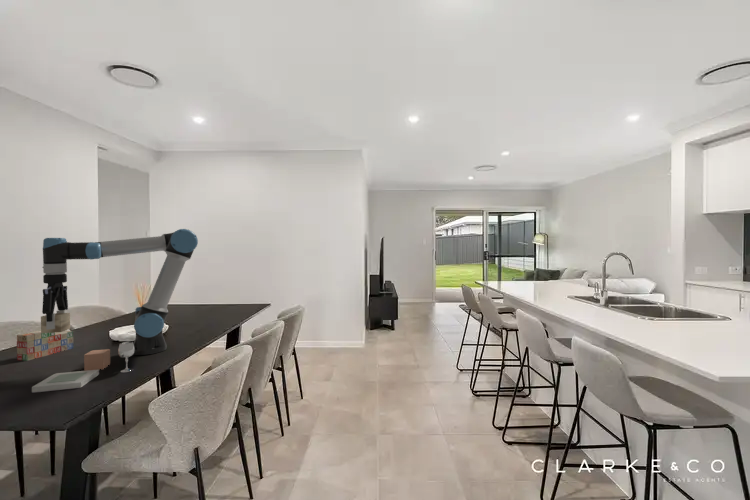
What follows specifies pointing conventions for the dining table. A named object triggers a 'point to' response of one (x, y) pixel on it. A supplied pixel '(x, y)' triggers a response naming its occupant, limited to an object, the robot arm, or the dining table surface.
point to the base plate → (65, 381)
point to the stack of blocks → (42, 344)
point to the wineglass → (126, 352)
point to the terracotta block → (96, 359)
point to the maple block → (57, 323)
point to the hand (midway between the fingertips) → (56, 327)
